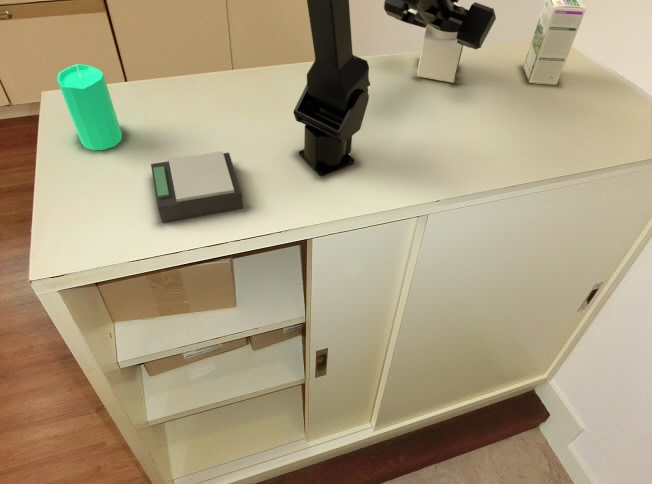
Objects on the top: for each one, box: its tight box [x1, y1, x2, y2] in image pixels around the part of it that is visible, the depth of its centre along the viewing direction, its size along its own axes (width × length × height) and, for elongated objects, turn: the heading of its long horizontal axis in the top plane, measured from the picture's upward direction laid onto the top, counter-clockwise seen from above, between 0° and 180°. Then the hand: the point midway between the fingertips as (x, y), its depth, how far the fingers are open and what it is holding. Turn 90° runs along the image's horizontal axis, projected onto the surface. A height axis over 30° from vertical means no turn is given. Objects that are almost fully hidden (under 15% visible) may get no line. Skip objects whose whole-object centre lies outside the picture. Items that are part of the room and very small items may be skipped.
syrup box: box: [522, 0, 587, 86], centre depth 97 cm, size 6×6×14 cm
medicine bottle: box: [416, 2, 466, 84], centre depth 96 cm, size 7×7×12 cm
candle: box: [56, 63, 123, 151], centre depth 77 cm, size 6×6×12 cm
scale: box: [150, 151, 244, 223], centre depth 74 cm, size 11×9×3 cm
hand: (447, 33), depth 96 cm, fingers open, 9 cm apart
